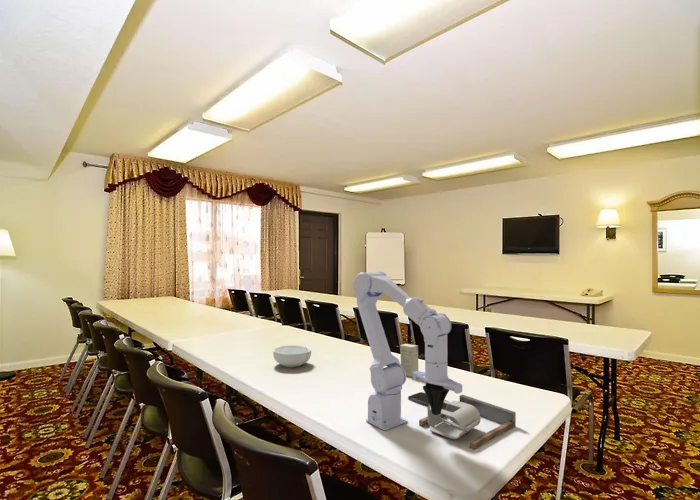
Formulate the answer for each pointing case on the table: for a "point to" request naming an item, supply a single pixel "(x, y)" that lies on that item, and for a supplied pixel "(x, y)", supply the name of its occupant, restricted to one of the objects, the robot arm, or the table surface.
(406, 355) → the skincare box
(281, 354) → the cereal bowl
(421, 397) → the phone
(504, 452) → the table surface
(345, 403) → the table surface
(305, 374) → the table surface
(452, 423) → the cable organizer
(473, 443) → the rail channel
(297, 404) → the table surface
